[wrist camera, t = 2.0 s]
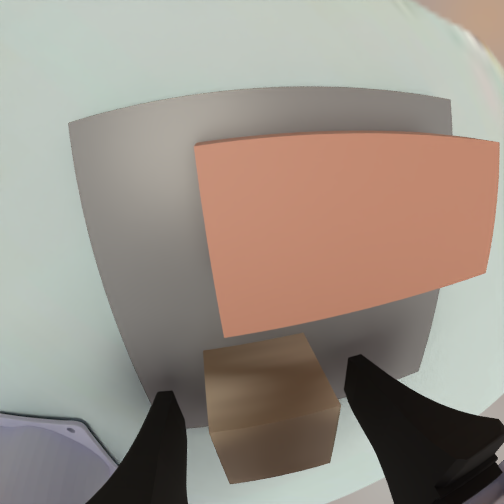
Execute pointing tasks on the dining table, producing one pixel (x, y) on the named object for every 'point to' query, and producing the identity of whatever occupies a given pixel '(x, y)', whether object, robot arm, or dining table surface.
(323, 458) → the beech cube
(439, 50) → the dining table surface
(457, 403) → the dining table surface
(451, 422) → the robot arm
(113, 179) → the building plate
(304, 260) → the terracotta brick
